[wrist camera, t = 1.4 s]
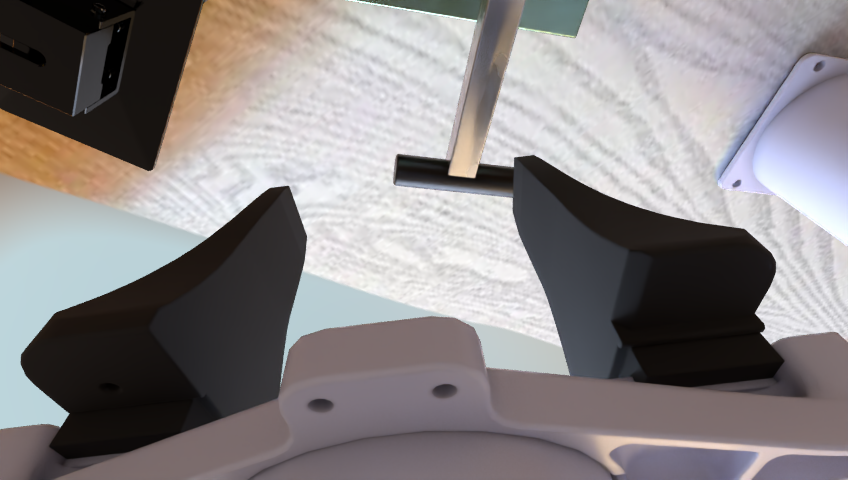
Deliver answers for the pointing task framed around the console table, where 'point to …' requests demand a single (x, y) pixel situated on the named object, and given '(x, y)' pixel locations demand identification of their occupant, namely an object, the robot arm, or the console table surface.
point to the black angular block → (97, 69)
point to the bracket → (543, 12)
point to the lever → (472, 113)
